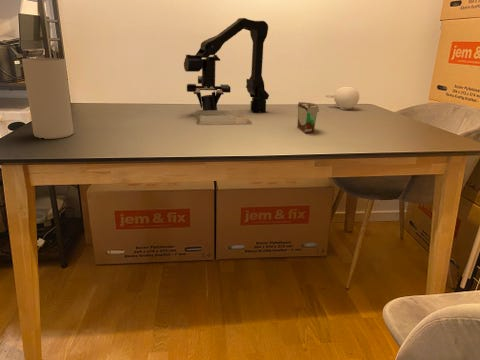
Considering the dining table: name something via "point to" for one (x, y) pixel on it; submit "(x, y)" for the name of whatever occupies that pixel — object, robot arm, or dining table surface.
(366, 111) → the dining table surface
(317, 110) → the food container
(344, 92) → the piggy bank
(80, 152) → the dining table surface
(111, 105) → the dining table surface
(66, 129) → the cylinder vase
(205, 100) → the speaker
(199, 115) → the beige shallow tray
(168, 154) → the dining table surface
